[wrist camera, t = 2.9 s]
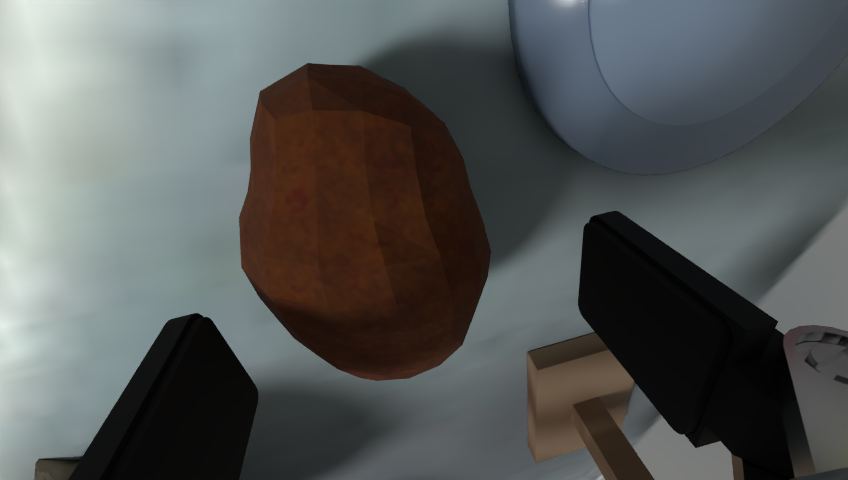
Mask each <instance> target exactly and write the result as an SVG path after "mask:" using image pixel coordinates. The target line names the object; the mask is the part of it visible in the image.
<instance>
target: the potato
mask: <svg viewBox="0 0 848 480" xmlns="http://www.w3.org/2000/svg"><path fill="white" fill-rule="evenodd" d="M250 159H251V172H250V179H249V186H248V192H247V195H246V198H245V201H244V205H243V208H242V211H241V214H240V217H239V225H240V247H241V264H242V269H243V270H244V272H245V274H246V275H247V277H248V279H249V281H250V282H251V284H252V286H253V287H254V289H255V291H256V292H257V294H258V296H259V297H260V299H261V300H262V301H263V302H264V303H265V305H266V306H267V307H268V308H269V309H270V311H271V312H272V313H273V314H274V315H275V317H276V318H277V319H278V320H279V321H280V322H281V324H282V325H283V326H284V327H285V328H286V329H287V331H288V332H289V333H290V334H291V335H292V336H293V337H294V339H296V340H297V341H299V342H300V343H301V344H303V345H304V346H305V347H307V348H308V349H310V350H311V351H312V352H314V353H315V354H316V355H318V356H319V357H321V358H322V359H324V360H325V361H327V362H328V363H330V364H331V365H333V366H334V367H336V368H337V369H339V370H342V371H344V372H347V373H349V374H352V375H354V376H357V377H359V378H364V379H370V380H377V381H379V380H393V379H407V378H411V377H413V376H415V375H418V374H420V373H423V372H425V371H427V370H430V369H432V368H434V367H437V366H439V365H441V364H442V363H443V362H444V361H445V360H446V359H447V358H448V357H449V356H450V355H451V354H453V353H454V352H455V351H456V350H457V349H458V348H459V347H460V346H461V345H462V344H463V342H464V339H465V336H466V334H467V331H468V329H469V326H470V324H471V321H472V318H473V316H474V313H475V310H476V307H477V305H478V302H479V299H480V296H481V294H482V291H483V288H484V285H485V283H486V280H487V277H488V269H489V262H490V254H491V251H490V247H489V243H488V239H487V235H486V232H485V228H484V224H483V221H482V218H481V215H480V212H479V209H478V206H477V204H476V201H475V198H474V196H473V193H472V190H471V188H470V185H469V181H468V177H467V173H466V169H465V165H464V161H463V157H462V155H461V153H460V152H459V150H458V148H457V146H456V144H455V142H454V140H453V138H452V136H451V135H450V133H449V131H448V129H447V127H446V125H445V123H443V122H442V121H441V120H440V119H439V118H438V117H437V116H436V115H435V114H434V113H432V112H431V111H430V110H429V109H428V108H427V107H425V106H424V105H423V104H422V103H421V102H420V101H418V100H417V99H416V98H415V97H414V96H413V95H411V94H410V93H409V92H408V91H407V90H406V89H404V88H403V87H401V86H399V85H397V84H395V83H393V82H391V81H389V80H387V79H384V78H382V77H380V76H378V75H377V74H375V73H373V72H371V71H369V70H367V69H365V68H363V67H361V66H351V65H325V64H312V63H307V64H306V65H304V66H302V67H301V68H299V69H297V70H295V71H294V72H292V73H290V74H289V75H287V76H285V77H284V78H282V79H280V80H279V81H277V82H275V83H273V84H272V85H270V86H268V87H267V88H265V89H263V90H262V91H260V94H259V99H258V103H257V108H256V113H255V117H254V122H253V127H252V132H251V136H250Z"/></svg>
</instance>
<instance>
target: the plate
mask: <svg viewBox="0 0 848 480" xmlns="http://www.w3.org/2000/svg"><path fill="white" fill-rule="evenodd" d="M508 5H509V17H510V30H511V39H512V44H513V49H514V54H515V59H516V64H517V67H518V70H519V73H520V76H521V79H522V82H523V85H524V88H525V90H526V92H527V94H528V96H529V98H530V100H531V102H532V104H533V106H534V108H535V110H536V112H537V113H538V115H539V116H540V117H541V119H542V120H543V122H544V123H545V124H546V126H547V127H548V128H549V129H550V130H551V131H552V132H553V133H554V134H555V135H556V136H557V137H558V138H559V139H560V140H561V141H562V142H563V143H565V144H566V145H567V146H569V147H570V148H572V149H573V150H575V151H576V152H578V153H579V154H581V155H583V156H584V157H586V158H588V159H590V160H591V161H593V162H595V163H598V164H600V165H602V166H604V167H606V168H608V169H611V170H615V171H619V172H623V173H627V174H637V175H660V174H669V173H674V172H679V171H685V170H688V169H691V168H694V167H698V166H701V165H704V164H707V163H709V162H711V161H714V160H716V159H718V158H720V157H723V156H725V155H727V154H729V153H731V152H733V151H734V150H736V149H738V148H740V147H742V146H744V145H745V144H747V143H749V142H750V141H752V140H753V139H755V138H756V137H758V136H759V135H761V134H762V133H764V132H765V131H767V130H768V129H770V128H771V127H772V126H774V125H775V124H776V123H778V122H779V121H780V120H781V119H783V118H784V117H785V116H787V115H788V114H789V113H790V112H792V111H793V110H794V109H795V108H796V107H797V106H798V105H799V104H801V103H802V102H803V101H804V100H805V99H806V98H807V97H808V96H810V95H811V94H812V93H813V92H814V91H815V90H816V89H817V88H818V87H819V86H820V85H821V84H822V83H823V82H824V81H825V80H826V79H827V78H828V76H829V75H830V74H831V73H832V72H833V71H834V70H835V69H836V68H837V67H838V66H839V65H840V63H841V62H842V61H843V60H844V59H845V58H846V56H847V55H848V0H508Z"/></svg>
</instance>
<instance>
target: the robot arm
mask: <svg viewBox="0 0 848 480" xmlns="http://www.w3.org/2000/svg"><path fill="white" fill-rule="evenodd" d="M578 306H579V310H580V312H581V315H582V316H583V318H584V319H585V320H586V321H587V323H588V324H589V325H590V326H591V328H592V329H593V330H594V331H595V333H596V334H597V335H598V336H599V338H600V339H601V340H602V341H603V343H604V344H605V345H606V346H607V348H608V349H609V350H610V351H611V353H612V354H613V355H614V356H615V358H616V359H617V360H618V361H619V363H620V364H621V365H622V366H623V368H624V369H625V370H626V371H627V373H628V374H629V375H630V376H631V378H632V379H633V380H634V381H635V383H636V384H637V385H638V386H639V388H640V389H641V390H642V391H643V393H644V394H645V395H646V396H647V398H648V399H649V400H650V401H651V403H652V404H653V405H654V406H655V408H656V409H657V410H658V411H659V413H660V414H661V415H662V416H663V418H664V419H665V420H666V421H667V423H668V424H669V425H670V426H671V427H672V428H673V430H675V431H676V432H677V433H679V434H685V436H686V437H687V438H688V439H689V441H690V442H691V443H692V444H693V445H694V446H695V448H697V447H700V446H704V445H708V444H711V443H715V442H718V441H721V442H722V443H723V444H724V445H725V446H726V447H727V449H728V450H729V451H730V452H731V454H732V465H733V475H734V480H848V331H844V330H840V329H836V328H833V327H826V326H817V325H816V326H815V325H811V326H799V327H796V328H794V329H791V330H789V331H788V332H787V333H786V334H785V335H783V334H782V333H781V332H779V331H778V330H777V329H775V327H776V325H777V323H778V321H777V320H775V319H774V318H772V317H771V316H769V315H768V314H766V313H765V312H764V311H762V310H761V309H759V308H758V307H756V306H755V305H753V304H752V303H751V302H749V301H748V300H746V299H745V298H743V297H742V296H740V295H739V294H737V293H736V292H735V291H733V290H732V289H730V288H729V287H727V286H726V285H724V284H723V283H722V282H720V281H719V280H717V279H716V278H714V277H713V276H711V275H710V274H709V273H707V272H706V271H704V270H703V269H701V268H700V267H698V266H697V265H695V264H694V263H693V262H691V261H690V260H688V259H687V258H685V257H684V256H682V255H681V254H680V253H678V252H677V251H675V250H674V249H672V248H671V247H669V246H668V245H666V244H665V243H664V242H662V241H661V240H659V239H658V238H656V237H655V236H653V235H652V234H651V233H649V232H648V231H646V230H645V229H643V228H642V227H640V226H639V225H638V224H636V223H635V222H633V221H632V220H630V219H629V218H627V217H626V216H624V215H623V214H622V213H620V212H618V211H612V212H607V213H603V214H599V215H595V216H593V217H591V219H590V220H589V223H587V224H585V226H584V231H583V244H582V257H581V271H580V284H579V297H578ZM257 404H258V390H257V387H256V385H255V384H254V382H253V381H252V379H251V378H250V376H249V375H248V373H247V372H246V371H245V369H244V368H243V366H242V365H241V363H240V362H239V360H238V359H237V357H236V356H235V354H234V353H233V351H232V350H231V348H230V347H229V345H228V344H227V342H226V341H225V339H224V338H223V336H222V335H221V333H220V332H219V330H218V329H217V327H216V326H215V324H214V323H213V321H212V320H211V319H210V318H208V317H203V316H202V315H200V314H198V313H194V314H190V315H186V316H182V317H178V318H174V319H171V320H169V321H168V322H167V323H166V324H165V326H164V327H163V329H162V330H161V332H160V334H159V335H158V337H157V338H156V340H155V342H154V343H153V345H152V346H151V348H150V350H149V351H148V353H147V354H146V356H145V358H144V359H143V361H142V362H141V364H140V366H139V367H138V369H137V370H136V372H135V374H134V375H133V377H132V378H131V380H130V382H129V383H128V385H127V386H126V388H125V390H124V391H123V393H122V394H121V396H120V398H119V399H118V401H117V402H116V404H115V406H114V407H113V409H112V410H111V412H110V414H109V415H108V417H107V418H106V420H105V422H104V423H103V425H102V426H101V428H100V430H99V431H98V433H97V434H96V436H95V438H94V439H93V441H92V442H91V444H90V446H89V447H88V449H87V450H86V452H85V454H84V455H83V457H82V458H81V460H80V462H79V463H78V465H77V466H76V468H75V470H74V471H73V473H72V474H71V476H70V478H69V479H68V480H239V476H240V472H241V468H242V464H243V460H244V456H245V452H246V448H247V444H248V440H249V436H250V432H251V428H252V424H253V420H254V416H255V412H256V408H257Z"/></svg>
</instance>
